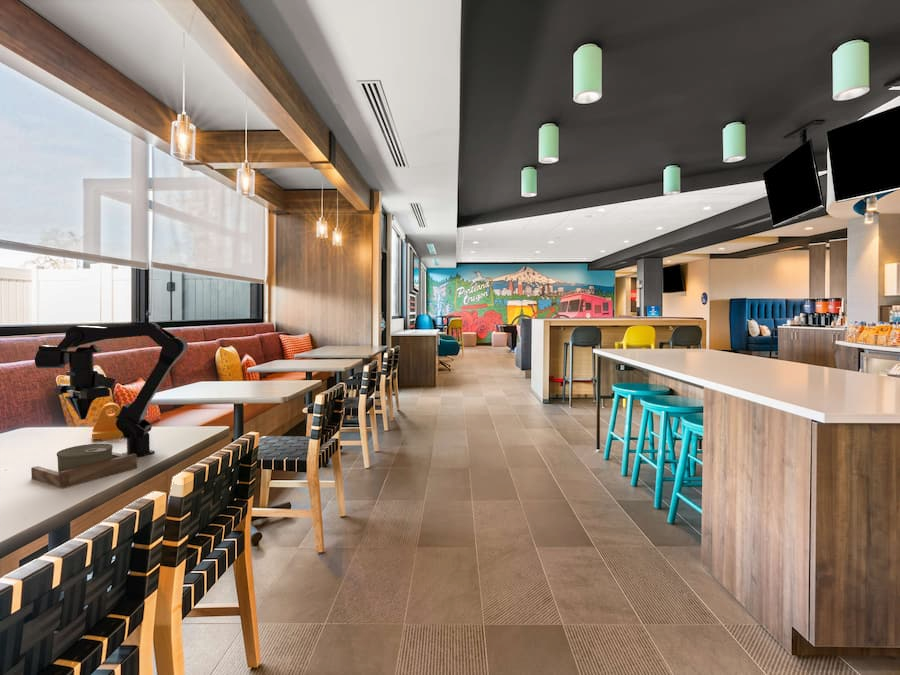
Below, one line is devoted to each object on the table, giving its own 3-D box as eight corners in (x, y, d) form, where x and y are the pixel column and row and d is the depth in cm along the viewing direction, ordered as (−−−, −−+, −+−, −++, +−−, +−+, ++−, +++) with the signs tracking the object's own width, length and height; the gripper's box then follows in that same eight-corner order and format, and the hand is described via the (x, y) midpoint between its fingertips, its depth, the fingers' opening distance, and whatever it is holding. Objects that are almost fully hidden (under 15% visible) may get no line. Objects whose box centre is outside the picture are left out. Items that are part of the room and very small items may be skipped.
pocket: (137, 468, 132) (136, 454, 132) (62, 488, 116) (61, 472, 116) (106, 460, 138) (105, 447, 138) (31, 478, 123) (31, 463, 122)
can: (82, 466, 133) (82, 443, 133) (123, 467, 132) (123, 443, 132) (44, 481, 121) (44, 455, 121) (89, 482, 120) (89, 456, 120)
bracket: (91, 442, 159) (91, 407, 159) (92, 437, 165) (91, 404, 165) (129, 437, 165) (129, 404, 165) (129, 433, 171) (128, 401, 171)
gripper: (128, 366, 142) (129, 417, 143) (94, 363, 151) (95, 411, 151) (86, 370, 132) (88, 424, 133) (53, 367, 141) (54, 418, 141)
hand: (82, 419), depth 140 cm, fingers closed
